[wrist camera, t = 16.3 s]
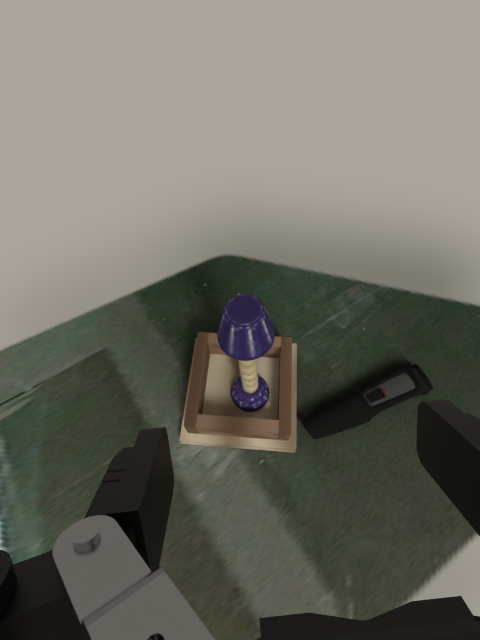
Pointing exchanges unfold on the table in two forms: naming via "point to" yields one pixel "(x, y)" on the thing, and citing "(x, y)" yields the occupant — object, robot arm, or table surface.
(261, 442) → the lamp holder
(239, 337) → the toy lamp
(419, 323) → the table surface
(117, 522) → the robot arm
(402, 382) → the electric trimmer
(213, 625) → the table surface
